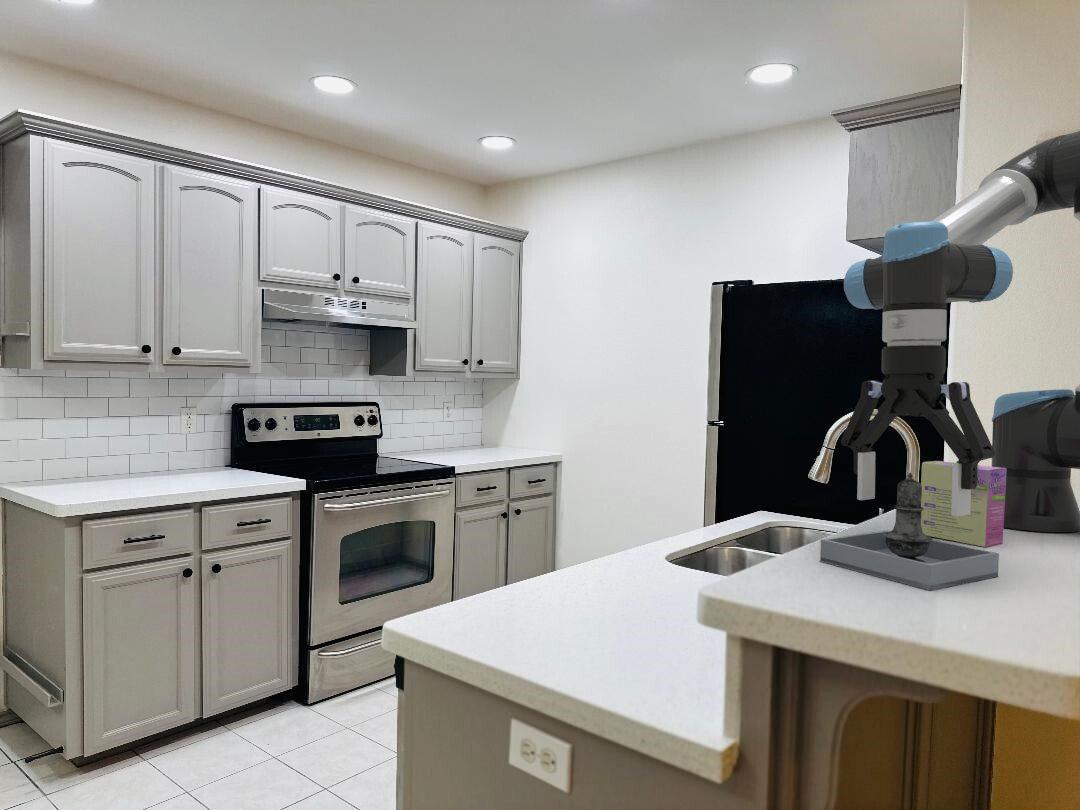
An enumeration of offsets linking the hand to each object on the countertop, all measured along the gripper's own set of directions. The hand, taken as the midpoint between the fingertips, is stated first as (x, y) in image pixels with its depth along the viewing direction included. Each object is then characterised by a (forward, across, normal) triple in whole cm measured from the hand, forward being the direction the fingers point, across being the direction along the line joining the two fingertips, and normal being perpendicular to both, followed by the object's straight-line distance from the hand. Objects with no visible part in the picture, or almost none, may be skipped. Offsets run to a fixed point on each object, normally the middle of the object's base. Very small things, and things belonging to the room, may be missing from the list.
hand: (910, 506), depth 102 cm
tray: (+8, 0, -1) cm, 8 cm away
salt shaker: (+8, 0, -1) cm, 8 cm away
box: (+9, -8, +24) cm, 27 cm away
